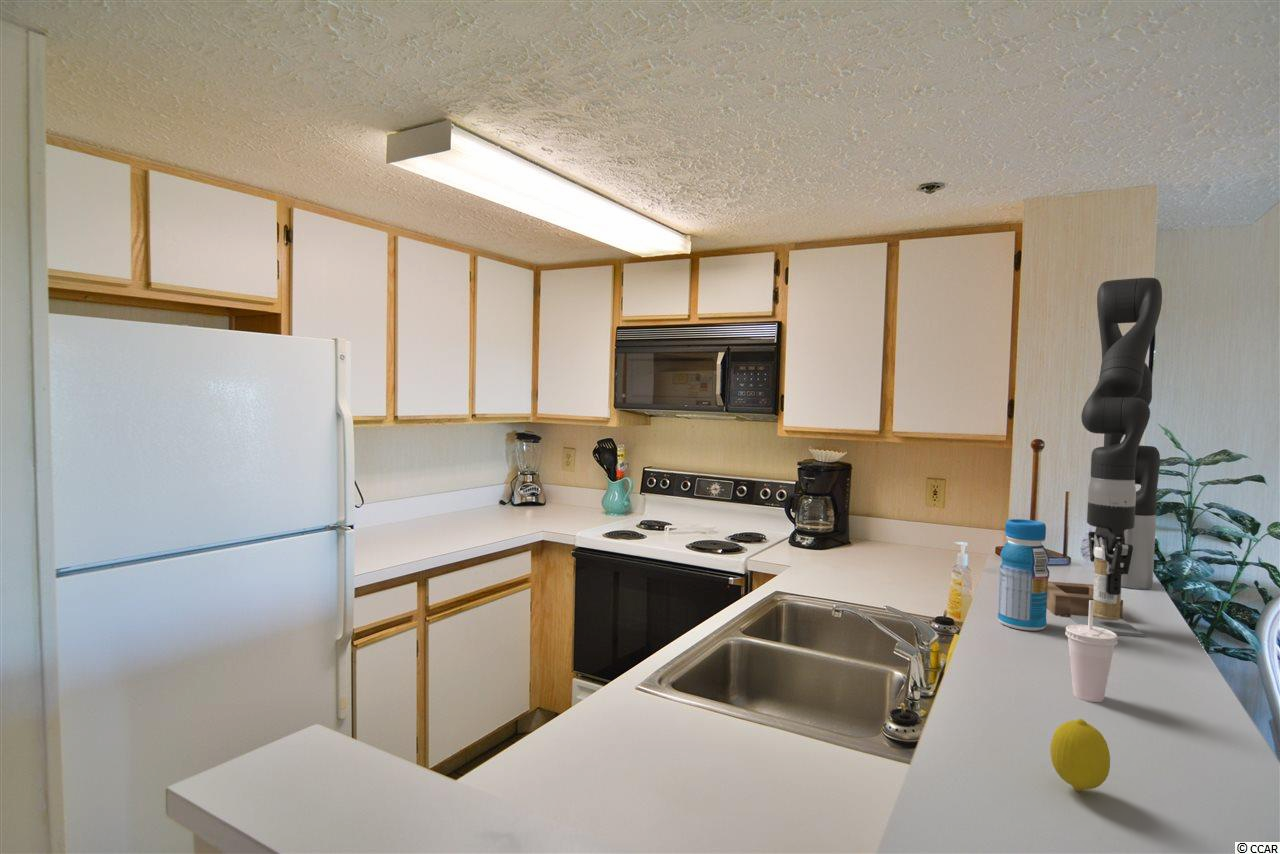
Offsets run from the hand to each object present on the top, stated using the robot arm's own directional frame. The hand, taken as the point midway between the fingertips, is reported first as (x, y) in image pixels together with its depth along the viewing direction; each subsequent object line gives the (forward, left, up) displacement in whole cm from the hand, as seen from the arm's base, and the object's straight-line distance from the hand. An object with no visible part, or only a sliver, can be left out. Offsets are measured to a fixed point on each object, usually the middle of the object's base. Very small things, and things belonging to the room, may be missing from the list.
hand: (1107, 590), depth 132 cm
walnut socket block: (-11, -1, -7) cm, 14 cm away
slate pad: (0, 0, -7) cm, 7 cm away
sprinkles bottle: (0, 0, -5) cm, 5 cm away
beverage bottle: (+3, -16, -7) cm, 18 cm away
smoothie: (+37, -16, -7) cm, 41 cm away
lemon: (+65, -27, -7) cm, 70 cm away
